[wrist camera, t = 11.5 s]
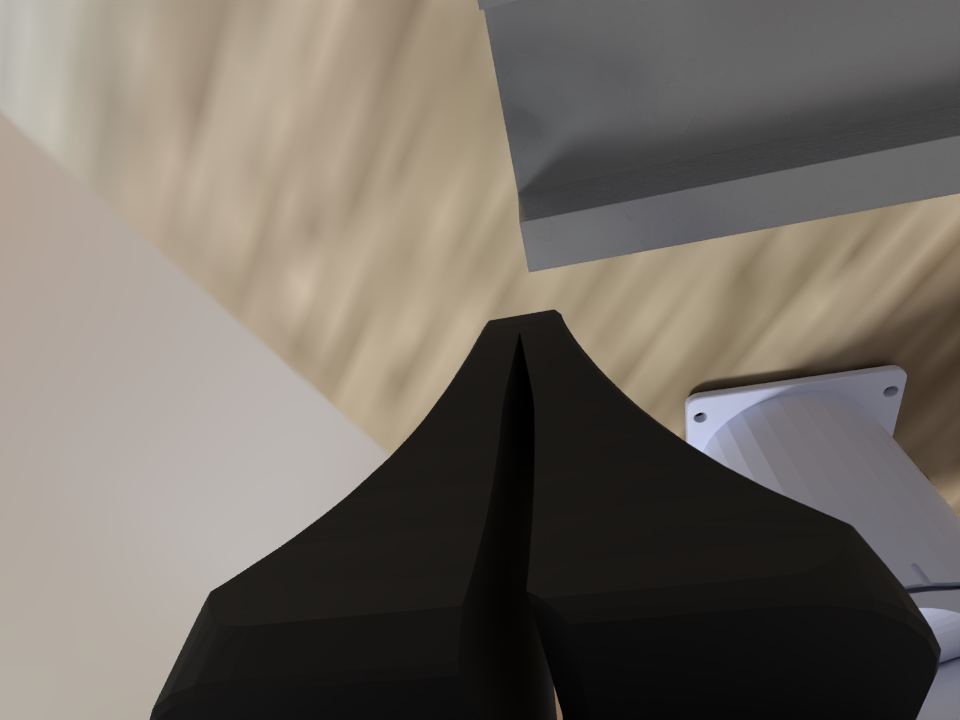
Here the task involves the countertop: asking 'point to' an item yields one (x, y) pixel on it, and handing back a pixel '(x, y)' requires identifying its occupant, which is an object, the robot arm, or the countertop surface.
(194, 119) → the countertop surface
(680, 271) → the countertop surface
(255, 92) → the countertop surface
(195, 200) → the countertop surface
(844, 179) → the rail
